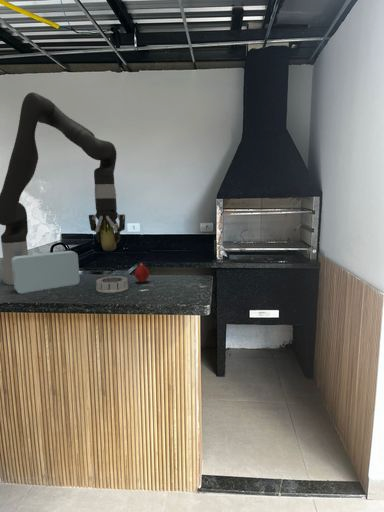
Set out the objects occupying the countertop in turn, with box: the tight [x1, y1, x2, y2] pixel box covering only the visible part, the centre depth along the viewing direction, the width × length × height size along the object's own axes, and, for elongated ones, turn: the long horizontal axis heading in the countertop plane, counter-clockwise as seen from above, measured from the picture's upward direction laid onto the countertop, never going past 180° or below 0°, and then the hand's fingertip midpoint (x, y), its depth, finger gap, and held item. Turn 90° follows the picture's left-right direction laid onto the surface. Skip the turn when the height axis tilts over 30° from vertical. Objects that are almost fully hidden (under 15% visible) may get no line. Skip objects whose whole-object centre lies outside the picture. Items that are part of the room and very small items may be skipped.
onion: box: [134, 263, 150, 283], centre depth 139 cm, size 6×6×8 cm
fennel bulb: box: [100, 220, 117, 252], centre depth 127 cm, size 6×5×12 cm
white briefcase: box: [11, 250, 81, 294], centre depth 133 cm, size 23×6×13 cm, turn 126°
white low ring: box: [95, 275, 129, 294], centre depth 131 cm, size 12×12×4 cm
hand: (108, 242), depth 128 cm, fingers closed on fennel bulb, 6 cm apart
